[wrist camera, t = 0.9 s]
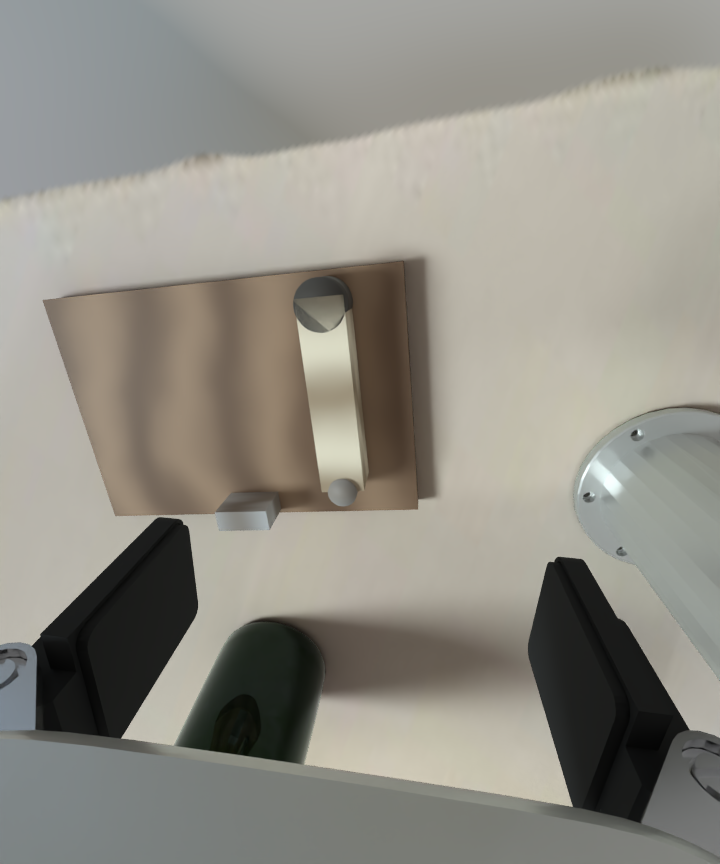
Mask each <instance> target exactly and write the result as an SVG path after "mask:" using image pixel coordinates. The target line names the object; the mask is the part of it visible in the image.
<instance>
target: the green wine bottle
mask: <svg viewBox="0 0 720 864" xmlns="http://www.w3.org/2000/svg"><path fill="white" fill-rule="evenodd" d="M324 678H325V664H324V660H323V658H322V655H321V653H320V651H319V649H318V648H317V646H316V645H315V644H314V643H313V642H312V641H311V640H310V639H309V638H308V637H307V636H306V635H304V634H303V633H302V632H300V631H298V630H296V629H294V628H292V627H290V626H287V625H284V624H280V623H275V622H255V623H251V624H248V625H245V626H243V627H241V628H239V629H238V630H236V631H234V632H233V633H232V634H231V635H230V636H229V637H228V639H227V641H226V642H225V644H224V646H223V648H222V649H221V651H220V653H219V655H218V657H217V659H216V661H215V663H214V665H213V667H212V669H211V671H210V672H209V674H208V676H207V678H206V680H205V682H204V684H203V687H202V689H201V691H200V693H199V695H198V697H197V699H196V701H195V703H194V705H193V707H192V709H191V711H190V713H189V715H188V717H187V719H186V721H185V723H184V725H183V727H182V730H181V732H180V734H179V736H178V738H177V740H176V742H175V744H174V746H178V747H185V748H192V749H199V750H207V751H214V752H221V753H228V754H235V755H242V756H249V757H255V758H262V759H269V760H276V761H283V762H289V763H296V764H303V765H305V760H306V756H307V752H308V748H309V744H310V740H311V736H312V732H313V728H314V724H315V720H316V715H317V711H318V707H319V703H320V698H321V694H322V689H323V684H324Z"/></svg>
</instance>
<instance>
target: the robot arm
mask: <svg viewBox="0 0 720 864" xmlns="http://www.w3.org/2000/svg"><path fill="white" fill-rule="evenodd" d="M634 430H635V431H634ZM633 431H634V433H632V432H633ZM631 433H632V434H631ZM585 493H586V494H585ZM573 498H574V508H575V512H576V515H577V518H578V520H579V523H580V524H581V526H582V528H583V529H584V531H585V533H586V534H587V535H588V537H589V538H590V539H591V540H592V542H593V543H594V544H595V545H596V546H597V547H599V548H600V549H601V550H602V551H604V552H605V553H606V554H608V555H610V556H612V557H614V558H615V559H618V560H621V561H624V562H627V563H630V564H633V565H636V566H637V568H638V569H639V571H640V572H641V573H642V575H643V576H644V577H645V579H646V580H647V582H648V583H649V584H650V586H651V587H652V588H653V590H654V591H655V593H656V594H657V595H658V597H659V598H660V600H661V601H662V602H663V604H664V605H665V606H666V608H667V609H668V611H669V612H670V613H671V615H672V616H673V617H674V619H675V620H676V622H677V623H678V624H679V626H680V627H681V628H682V630H683V631H684V633H685V634H686V635H687V637H688V638H689V639H690V641H691V642H692V644H693V645H694V646H695V648H696V649H697V650H698V652H699V653H700V655H701V656H702V657H703V659H704V660H705V661H706V663H707V664H708V666H709V667H710V668H711V670H712V671H713V672H714V674H715V675H716V677H717V678H718V679H719V681H720V414H717V413H714V412H711V411H708V410H703V409H694V408H671V409H664V410H659V411H655V412H650V413H647V414H644V415H642V416H639V417H637V418H634V419H631V420H629V421H628V422H626V423H624V424H622V425H621V426H619V427H617V428H615V429H614V430H613V431H611V432H610V433H609V434H608V435H606V436H605V437H604V438H603V439H601V440H600V441H599V442H598V443H597V445H596V446H595V447H594V448H593V449H592V450H591V451H590V452H589V454H588V455H587V457H586V459H585V460H584V462H583V464H582V465H581V467H580V470H579V472H578V475H577V478H576V481H575V487H574V494H573ZM197 610H198V599H197V591H196V583H195V575H194V567H193V559H192V551H191V543H190V534H189V528H188V527H187V526H186V525H183V522H182V520H180V519H172V518H162V517H159V518H157V519H155V520H154V521H153V522H152V523H151V524H150V525H149V526H148V527H147V528H146V529H145V530H144V531H143V532H142V533H141V534H140V535H139V536H138V537H137V538H136V539H135V540H134V541H133V542H132V543H131V544H130V545H129V546H128V547H127V548H126V549H125V550H124V551H123V552H122V553H121V554H120V555H119V556H118V557H117V558H116V559H115V560H114V561H113V562H112V563H111V564H110V565H109V566H108V567H107V568H106V569H105V570H104V571H103V572H102V573H101V574H100V575H99V576H98V577H97V578H96V579H95V580H94V581H93V582H92V583H91V584H90V585H89V586H88V587H87V588H86V589H85V590H84V591H83V592H82V593H81V594H80V595H79V596H78V597H77V598H76V599H75V600H74V601H73V602H72V603H71V604H70V605H69V606H68V607H67V608H66V609H65V610H64V611H63V612H62V613H61V614H60V615H59V616H58V617H57V618H56V619H55V620H54V621H53V622H52V623H51V624H50V625H49V626H48V627H47V628H46V629H45V630H44V631H43V632H42V633H41V634H40V636H41V637H40V638H39V639H38V640H37V641H36V642H35V643H34V644H33V645H32V646H30V645H29V644H25V643H20V642H18V643H6V644H3V645H0V864H720V738H718V737H716V736H715V735H711V734H708V733H705V732H702V731H692V730H689V728H688V726H687V725H686V723H685V721H684V720H683V718H682V716H681V715H680V713H679V711H678V710H677V708H676V706H675V705H674V703H673V701H672V700H671V698H670V696H669V694H668V693H667V691H666V689H665V688H664V686H663V684H662V683H661V681H660V679H659V678H658V676H657V674H656V673H655V671H654V669H653V668H652V666H651V664H650V663H649V661H648V659H647V657H646V656H645V654H644V652H643V651H642V649H641V647H640V646H639V644H638V642H637V641H636V639H635V637H634V636H633V634H632V632H631V631H630V629H629V627H628V626H627V625H626V623H625V622H624V621H622V620H621V619H618V618H617V616H616V615H615V613H614V611H613V610H612V608H611V606H610V604H609V603H608V601H607V599H606V597H605V596H604V594H603V592H602V591H601V589H600V587H599V585H598V584H597V582H596V580H595V578H594V577H593V575H592V573H591V572H590V570H589V568H588V566H587V565H586V563H585V562H584V560H582V559H575V558H565V557H557V558H556V559H555V562H549V563H548V564H547V567H546V571H545V576H544V580H543V584H542V588H541V592H540V596H539V601H538V605H537V609H536V613H535V617H534V621H533V626H532V630H531V634H530V638H529V643H528V655H529V660H530V663H531V667H532V670H533V673H534V677H535V680H536V683H537V687H538V690H539V694H540V697H541V700H542V704H543V707H544V710H545V714H546V717H547V721H548V724H549V727H550V731H551V734H552V738H553V741H554V744H555V748H556V751H557V754H558V758H559V761H560V765H561V768H562V771H563V775H564V778H565V781H566V785H567V788H568V792H569V795H570V798H571V802H572V805H573V807H569V806H564V805H558V804H552V803H546V802H541V801H535V800H529V799H523V798H517V797H512V796H506V795H500V794H494V793H487V792H481V791H474V790H468V789H461V788H455V787H448V786H442V785H435V784H429V783H422V782H416V781H409V780H403V779H396V778H390V777H384V776H377V775H370V774H364V773H357V772H350V771H343V770H337V769H330V768H323V767H317V766H310V765H303V764H296V763H289V762H283V761H276V760H269V759H262V758H255V757H249V756H242V755H235V754H228V753H221V752H214V751H207V750H199V749H192V748H185V747H178V746H171V745H164V744H157V743H150V742H143V741H136V740H128V739H121V737H122V736H123V734H124V733H125V731H126V730H127V728H128V726H129V725H130V723H131V721H132V720H133V718H134V716H135V715H136V713H137V712H138V710H139V708H140V707H141V705H142V703H143V702H144V700H145V699H146V697H147V695H148V694H149V692H150V690H151V689H152V687H153V685H154V684H155V682H156V681H157V679H158V677H159V676H160V674H161V672H162V671H163V669H164V668H165V666H166V664H167V663H168V661H169V659H170V658H171V656H172V654H173V653H174V651H175V650H176V648H177V646H178V645H179V643H180V641H181V640H182V638H183V636H184V635H185V633H186V632H187V630H188V628H189V627H190V625H191V623H192V622H193V620H194V618H195V616H196V614H197Z"/></svg>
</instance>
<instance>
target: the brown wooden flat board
mask: <svg viewBox="0 0 720 864" xmlns="http://www.w3.org/2000/svg"><path fill="white" fill-rule="evenodd" d="M323 276H333V277H336V278H339V279H340V280H342V281H343V282H344V283H345V284H346V285H347V286H348V287H349V289H350V291H351V294H352V298H353V307H352V312H353V322H354V331H355V341H356V351H357V361H358V371H359V381H360V390H361V400H362V410H363V420H364V430H365V440H366V449H367V459H368V469H369V473H368V477H367V481H366V486H365V490H364V491H358V493H357V496H356V499H355V501H354V502H353V503H352V504H351V505H349V506H338V505H336V504H334V503H333V502H332V501H331V500H330V499H329V496H328V492H322V490H321V483H320V476H319V469H318V463H317V456H316V449H315V442H314V435H313V428H312V421H311V414H310V408H309V401H308V394H307V387H306V380H305V373H304V366H303V359H302V353H301V346H300V339H299V332H298V325H297V318H296V315H295V313H294V309H293V299H294V295H295V292H296V290H297V289H298V287H299V286H300V285H301V284H302V283H303V282H304V281H306V280H308V279H310V278H314V277H323ZM43 303H44V306H45V309H46V312H47V315H48V318H49V321H50V324H51V327H52V330H53V332H54V335H55V338H56V341H57V344H58V347H59V350H60V353H61V356H62V359H63V362H64V365H65V368H66V371H67V374H68V377H69V380H70V383H71V386H72V389H73V392H74V395H75V398H76V401H77V404H78V407H79V410H80V413H81V416H82V418H83V421H84V424H85V427H86V430H87V433H88V436H89V439H90V442H91V445H92V448H93V451H94V454H95V457H96V460H97V463H98V466H99V469H100V472H101V475H102V478H103V481H104V484H105V487H106V490H107V493H108V496H109V499H110V502H111V504H112V507H113V510H114V513H115V516H137V515H182V514H215V515H216V519H217V524H218V528H219V531H234V530H270V528H271V526H272V525H273V523H274V521H275V519H276V517H277V516H278V514H279V512H319V511H365V510H410V509H418V491H417V474H416V457H415V441H414V424H413V407H412V391H411V374H410V357H409V341H408V324H407V307H406V291H405V274H404V261H400V262H391V263H382V264H373V265H363V266H354V267H345V268H335V269H326V270H317V271H308V272H298V273H289V274H280V275H270V276H261V277H252V278H243V279H233V280H224V281H215V282H205V283H196V284H187V285H178V286H168V287H159V288H150V289H141V290H131V291H122V292H113V293H103V294H94V295H85V296H76V297H66V298H57V299H48V300H43Z"/></svg>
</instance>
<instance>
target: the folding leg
mask: <svg viewBox="0 0 720 864" xmlns="http://www.w3.org/2000/svg"><path fill="white" fill-rule="evenodd" d="M352 307H353V298H352V294H351V291H350V289H349V287H348V286H347V285H346V284H345V283H344V282H343V281H342V280H340V279H339V278H336V277H333V276H323V277H314V278H310V279H308V280H306V281H304V282H303V283H302V284H301V285H300V286H299V287H298V289H297V290H296V292H295V295H294V299H293V309H294V313H295V315H296V318H297V325H298V332H299V339H300V346H301V353H302V359H303V366H304V373H305V380H306V387H307V394H308V401H309V408H310V414H311V421H312V428H313V435H314V442H315V449H316V456H317V463H318V469H319V476H320V483H321V490H322V492H328V496H329V499H330V500H331V501H332V502H333V503H334V504H336V505H338V506H349V505H351V504H352V503H353V502H354V501H355V499H356V496H357V493H358V491H364V490H365V486H366V481H367V477H368V473H369V469H368V459H367V449H366V440H365V430H364V420H363V410H362V400H361V390H360V381H359V371H358V361H357V351H356V341H355V331H354V322H353V312H352Z"/></svg>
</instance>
